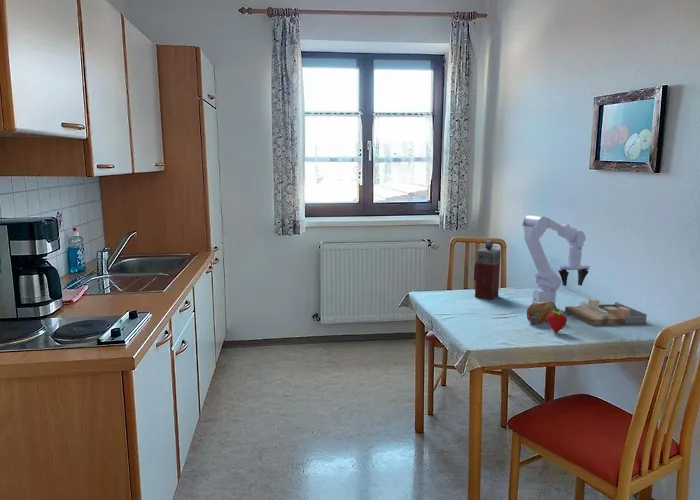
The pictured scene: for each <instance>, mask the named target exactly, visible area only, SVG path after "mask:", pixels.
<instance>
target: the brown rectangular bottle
mask: <svg viewBox="0 0 700 500" xmlns="http://www.w3.org/2000/svg"><path fill="white" fill-rule="evenodd" d="M493 246H494V242H493V240H489V239H487V240H486V242H485V247H484V248H480V249H478V250H477V251H476V261H475V264H474V269H473V281H475V286H474V287H475V288H474V298H477V299H485V300H491V301H492V300H494V299H497V298H498V297H499V288H500V287H499V286H500V270H501V269H500V268H501V254H502V253H501V250H500V248H499V249H496V248H493Z"/></svg>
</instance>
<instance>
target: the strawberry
mask: <svg viewBox="0 0 700 500" xmlns="http://www.w3.org/2000/svg"><path fill="white" fill-rule="evenodd" d="M550 312H553V313H550V314H548V315H547V321H548V322H547V324H548V326H550V328H551V329H552V331H553V332H554V333H556V334H557V333H559V331H561V330H562V329H564V327H565V326H566V324H567V322H568V318H567V316H566V315H565V312H563V311H561V310H557V312H556V311H550Z"/></svg>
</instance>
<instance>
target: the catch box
mask: <svg viewBox="0 0 700 500" xmlns="http://www.w3.org/2000/svg"><path fill="white" fill-rule="evenodd" d="M599 307H600V308H602V309H604V307H615V308H618V307H625V308H627V309H630V317H626V318H624V325H647V316H648V314H646V313H644V312H642V311H639V310H637V309H634V308H632V307H630V306H627V305H625V304H622V303H619V302H618V301H616V302H615V301H614V303H613V304H610V303H609V304H604V303H603V304H599ZM604 310H605V309H604ZM606 311H607V310H606ZM615 315H616V314H615Z"/></svg>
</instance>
